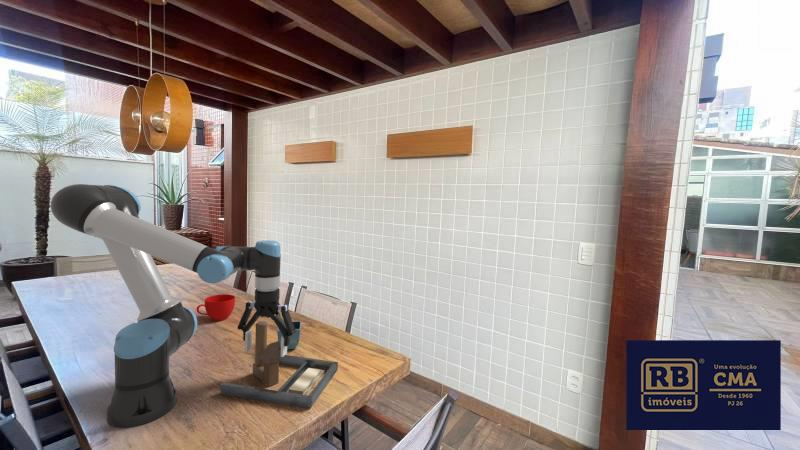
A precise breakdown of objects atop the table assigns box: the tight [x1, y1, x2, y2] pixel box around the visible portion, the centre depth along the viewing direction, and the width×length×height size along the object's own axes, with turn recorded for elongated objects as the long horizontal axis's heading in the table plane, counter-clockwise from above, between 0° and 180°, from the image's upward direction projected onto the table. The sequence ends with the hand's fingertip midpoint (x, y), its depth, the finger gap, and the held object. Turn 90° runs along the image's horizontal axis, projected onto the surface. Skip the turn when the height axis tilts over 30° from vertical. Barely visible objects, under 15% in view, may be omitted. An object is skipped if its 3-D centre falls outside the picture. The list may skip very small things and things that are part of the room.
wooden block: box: [252, 320, 281, 387], centre depth 107 cm, size 4×11×18 cm, turn 50°
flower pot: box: [276, 320, 302, 350], centre depth 130 cm, size 9×9×9 cm
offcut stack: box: [288, 368, 325, 396], centre depth 105 cm, size 16×5×3 cm, turn 170°
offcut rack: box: [219, 353, 339, 410], centre depth 106 cm, size 22×29×3 cm
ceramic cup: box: [196, 293, 236, 322], centre depth 155 cm, size 13×17×10 cm
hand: (266, 352), depth 107 cm, fingers open, 12 cm apart
